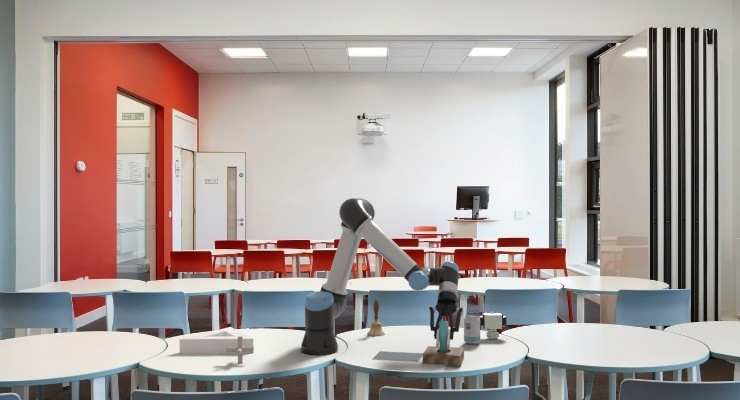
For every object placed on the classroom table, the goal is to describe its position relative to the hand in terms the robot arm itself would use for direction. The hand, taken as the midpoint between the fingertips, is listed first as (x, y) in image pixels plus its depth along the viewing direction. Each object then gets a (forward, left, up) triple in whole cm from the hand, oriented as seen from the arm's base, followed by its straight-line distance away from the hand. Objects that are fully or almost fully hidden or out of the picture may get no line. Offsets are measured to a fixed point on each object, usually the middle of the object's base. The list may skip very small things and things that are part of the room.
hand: (442, 345), depth 238 cm
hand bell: (-37, +49, -7) cm, 62 cm away
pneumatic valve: (+16, +51, -7) cm, 54 cm away
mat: (-18, +6, -7) cm, 20 cm away
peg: (0, +4, -4) cm, 5 cm away
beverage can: (+8, +38, -7) cm, 39 cm away
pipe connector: (-75, -15, -7) cm, 77 cm away
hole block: (0, +4, -7) cm, 8 cm away
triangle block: (-95, +11, -8) cm, 96 cm away
